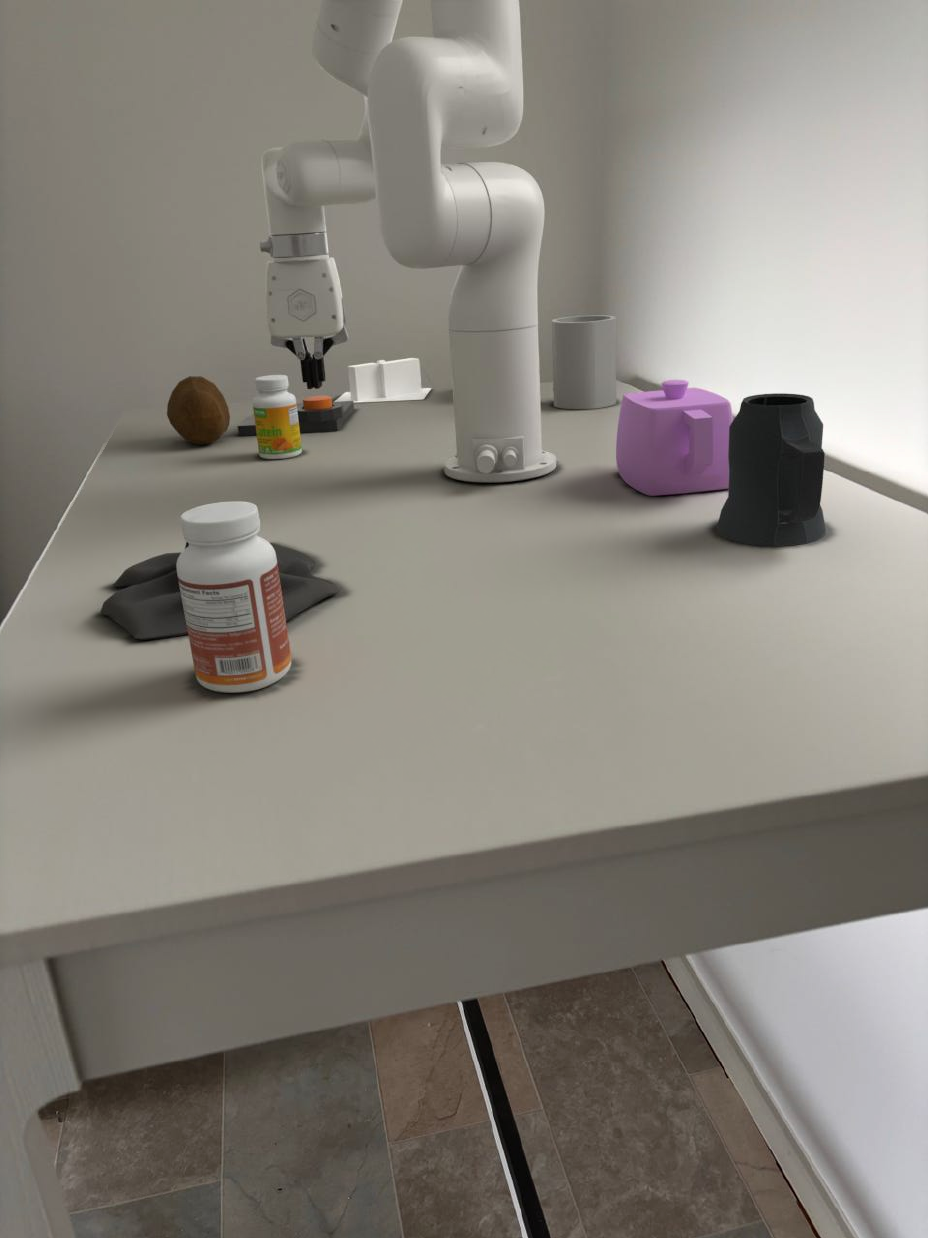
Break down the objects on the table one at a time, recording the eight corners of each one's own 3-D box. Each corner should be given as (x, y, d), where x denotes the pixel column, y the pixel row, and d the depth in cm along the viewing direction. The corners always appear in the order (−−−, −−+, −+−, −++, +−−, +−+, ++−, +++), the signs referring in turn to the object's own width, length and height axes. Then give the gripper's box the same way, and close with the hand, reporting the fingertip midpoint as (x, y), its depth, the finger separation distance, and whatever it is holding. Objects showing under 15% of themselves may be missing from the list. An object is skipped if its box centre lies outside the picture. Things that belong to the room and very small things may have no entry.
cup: (544, 402, 153) (542, 319, 148) (600, 395, 155) (599, 313, 151) (568, 411, 145) (566, 324, 140) (626, 404, 147) (626, 318, 143)
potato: (162, 452, 135) (151, 385, 132) (178, 434, 146) (168, 372, 143) (226, 447, 136) (216, 381, 132) (237, 430, 147) (229, 368, 143)
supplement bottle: (252, 459, 128) (241, 381, 124) (271, 450, 132) (261, 374, 129) (290, 460, 126) (281, 380, 123) (309, 450, 131) (300, 373, 127)
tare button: (329, 410, 142) (328, 399, 141) (301, 412, 142) (300, 401, 142) (334, 405, 146) (333, 394, 145) (306, 407, 146) (305, 396, 145)
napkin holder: (431, 387, 172) (429, 352, 170) (424, 399, 162) (421, 362, 160) (344, 391, 174) (341, 357, 172) (331, 403, 163) (327, 367, 161)
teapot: (600, 465, 114) (598, 372, 110) (691, 457, 115) (693, 364, 111) (650, 507, 97) (650, 398, 93) (755, 496, 98) (760, 389, 94)
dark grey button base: (340, 431, 142) (338, 409, 140) (238, 436, 142) (235, 415, 141) (357, 409, 157) (355, 389, 156) (264, 414, 158) (262, 395, 157)
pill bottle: (255, 648, 70) (232, 492, 66) (311, 670, 66) (291, 505, 62) (177, 679, 66) (147, 515, 62) (232, 705, 62) (204, 531, 58)
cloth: (343, 626, 73) (334, 544, 71) (77, 656, 71) (59, 573, 69) (333, 538, 94) (326, 472, 92) (127, 559, 92) (114, 492, 89)
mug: (701, 520, 92) (705, 394, 88) (798, 510, 93) (806, 386, 89) (752, 561, 81) (758, 420, 77) (861, 550, 82) (874, 410, 78)
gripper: (237, 252, 133) (256, 394, 140) (351, 246, 132) (364, 389, 139) (251, 250, 140) (268, 385, 147) (359, 244, 139) (371, 380, 146)
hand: (314, 387), depth 143 cm, fingers closed
